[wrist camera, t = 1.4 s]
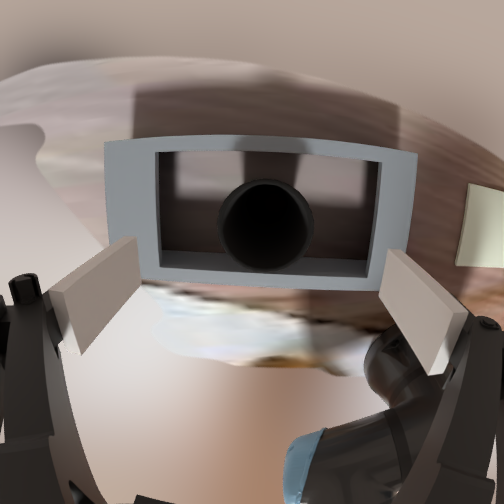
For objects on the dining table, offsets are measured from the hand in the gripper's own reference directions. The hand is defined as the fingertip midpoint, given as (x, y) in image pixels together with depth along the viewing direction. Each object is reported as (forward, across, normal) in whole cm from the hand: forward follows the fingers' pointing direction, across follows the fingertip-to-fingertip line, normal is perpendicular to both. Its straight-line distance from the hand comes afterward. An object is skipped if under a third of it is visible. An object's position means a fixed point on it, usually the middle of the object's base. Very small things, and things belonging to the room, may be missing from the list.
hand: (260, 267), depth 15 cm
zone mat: (+21, -34, +1) cm, 40 cm away
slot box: (+21, +1, 0) cm, 21 cm away
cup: (+21, 0, 0) cm, 21 cm away
